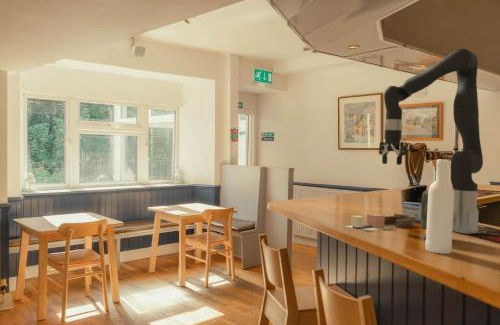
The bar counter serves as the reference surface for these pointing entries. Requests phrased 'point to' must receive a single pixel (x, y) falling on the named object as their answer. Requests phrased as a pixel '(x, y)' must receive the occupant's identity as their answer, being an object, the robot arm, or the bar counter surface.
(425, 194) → the tabletop clock
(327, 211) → the bar counter surface
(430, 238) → the bottle
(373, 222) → the pull block
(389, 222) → the shelf lane
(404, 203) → the medicine box
